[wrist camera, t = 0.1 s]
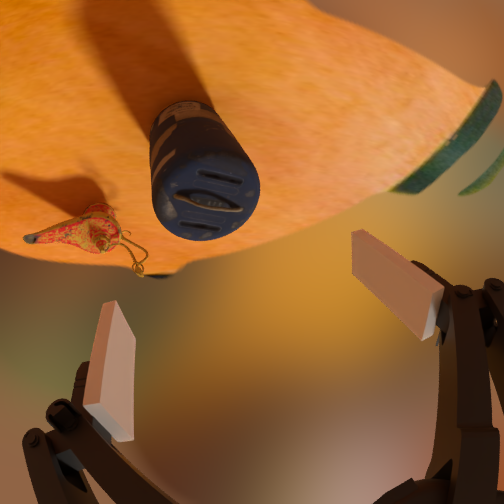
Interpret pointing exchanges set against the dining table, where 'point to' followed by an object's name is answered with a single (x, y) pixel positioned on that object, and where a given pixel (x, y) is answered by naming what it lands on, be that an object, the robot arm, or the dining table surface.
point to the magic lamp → (89, 233)
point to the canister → (199, 173)
